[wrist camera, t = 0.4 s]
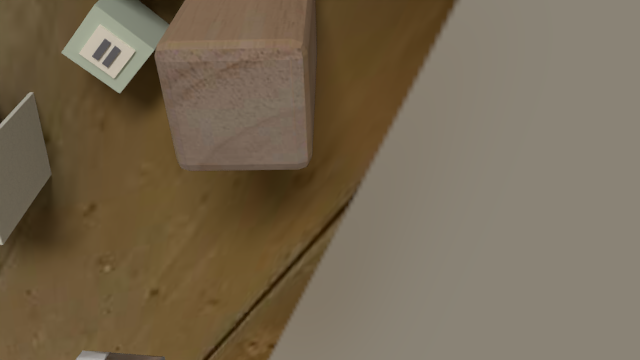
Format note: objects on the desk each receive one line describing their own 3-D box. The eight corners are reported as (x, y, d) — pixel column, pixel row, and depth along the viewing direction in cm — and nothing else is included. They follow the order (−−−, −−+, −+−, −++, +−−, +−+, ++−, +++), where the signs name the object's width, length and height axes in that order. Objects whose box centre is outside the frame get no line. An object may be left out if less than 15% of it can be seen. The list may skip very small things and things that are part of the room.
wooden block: (317, 59, 56) (312, 174, 40) (219, 60, 57) (175, 176, 41) (314, -44, 51) (306, 44, 34) (204, -41, 51) (147, 47, 35)
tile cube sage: (116, -18, 52) (92, 6, 47) (170, 25, 55) (153, 52, 49) (84, 27, 55) (59, 55, 50) (137, 66, 57) (118, 96, 52)
